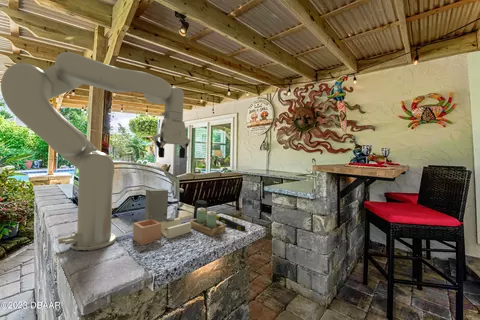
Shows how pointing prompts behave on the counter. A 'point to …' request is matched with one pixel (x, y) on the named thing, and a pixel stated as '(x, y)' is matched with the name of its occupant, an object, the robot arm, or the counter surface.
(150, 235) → the orange open box
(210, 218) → the cylinder
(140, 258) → the counter surface
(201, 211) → the cylinder
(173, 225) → the cradle
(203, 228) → the trough
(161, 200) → the skincare box
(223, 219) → the mallet
